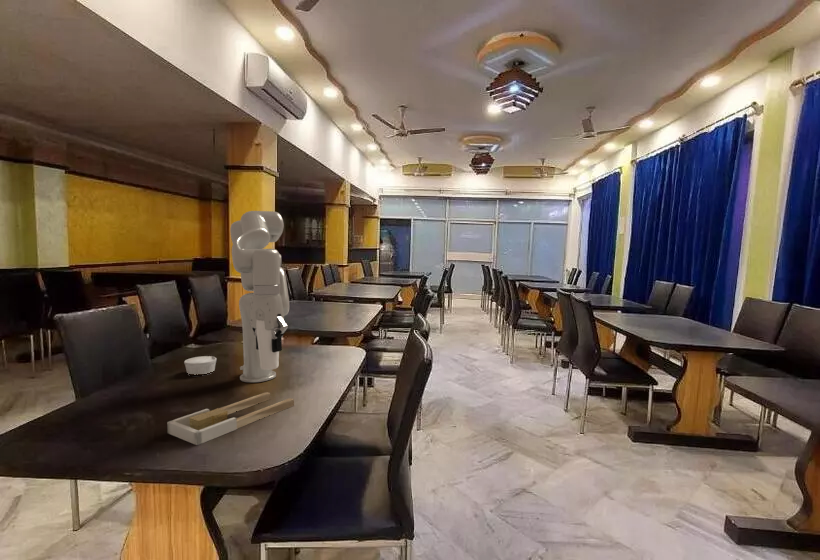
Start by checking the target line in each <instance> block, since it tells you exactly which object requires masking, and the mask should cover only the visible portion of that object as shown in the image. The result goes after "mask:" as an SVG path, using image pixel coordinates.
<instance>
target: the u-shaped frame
mask: <svg viewBox="0 0 820 560" xmlns="http://www.w3.org/2000/svg"><path fill="white" fill-rule="evenodd" d="M209 411H211V410H210V408H205V409H202V410H199V411H195V412H193V413H191V414H187V415H184V416H181V417H178V418H175V419H173V420H169V421H167V422H166V424H167V427H166V428H167V434H168V435H171V436H173V437H176V438H178V439H181V440H183V441H186V442H188V443H191V444H193V445H195V446H199V445H202V444H204V443H207V442H209V441H212V440H213V439H216V438H218V437H222V436H224V435H225V434H226V435H227V434H228V433H231V432H233V431H236V430H237V429H238V428H237V421H236V418H237V417H231V418H228V420H225V421H222V422H220V423H217V424H214V425H212V426H209V427H206V428H204V429H201V430H196V429H193V428H190V420H189V418H190V417H193V416H196V415H199V414H202V413H206V412H209Z"/></svg>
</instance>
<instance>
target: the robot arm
mask: <svg viewBox="0 0 820 560" xmlns="http://www.w3.org/2000/svg"><path fill="white" fill-rule="evenodd" d="M284 227H285V226H284V219H283V217H282V215H281V214H280V213H279V212H277V211H269V210H268V211H267V210H266V211H265V210H250V211H246V212H245V213H243V214H242V215H241V217H240V220H237V221H234V222H233V223H231V225H230V231H229V233H230V238H231V243H232V247H231V259H232V264H233V269H234V270H235V271H236V272H237V273H239V274H240V279H241V286H242V288H243V290H245V291H247V292H248V293H245V294H243V295H241V297H240V298H239V300H238V306H239V307H238V308H239V312H240V313H239V314H240V318H241V325H242V327H241V328H242V346H243V347H242V349H243V365H241V366H239V369H240V371H241V370H242V374H241V375H240V376H239V380H240V381H241V382H244V383H261V382H267V381H271V380H273V379H274V378H276V376H277V372H276V371H274V370H273V369H272V370H263V369H261V368H260V357H259V349H258V341H257V331H256V320H262V321H264V325H265V329H266V330H272V336H273V339H272V352H278V351H279V352H281V351H282V349H283V346H282V345H283V344H282V343H283V342H282V339H283V337H284V335H285V333H286V331H287V329H288V324H287V323H286V322H285V320H284V319H285V316H287V315H288V314H289V311H290V297H289V290H288V284H287V277H286V272H285V269H284V268H283V267H282V254H280V253H279V251H278V250H277V249H276V248H275V249H274V248H266V247H267V246H268V245H269V243H276V242H277V241H278V240H280V237H281V236H282V234H283V232H284ZM277 322H278V327H277V328H275V327H276V324H277ZM275 330H278V332H277V333H276V332H275Z"/></svg>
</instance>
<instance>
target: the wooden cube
mask: <svg viewBox="0 0 820 560" xmlns="http://www.w3.org/2000/svg"><path fill="white" fill-rule="evenodd" d="M219 408H220V407H217V408H215V409H212V410H210V411H209V412H206V414H209V415H213V425H214V424H217V423H220V422H222V421H225V420H228V419H229V417H228V416H229V415H228V413H227V411H226V410H223V409H219Z"/></svg>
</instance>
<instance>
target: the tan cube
mask: <svg viewBox="0 0 820 560" xmlns="http://www.w3.org/2000/svg"><path fill="white" fill-rule="evenodd" d="M189 420H190V428H193V429H196V430H201V429H204V428H206V427H209V426H212V425H213V415H209V414H206V413H202V414H199V415H196V416H193V417H190V418H189Z"/></svg>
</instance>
